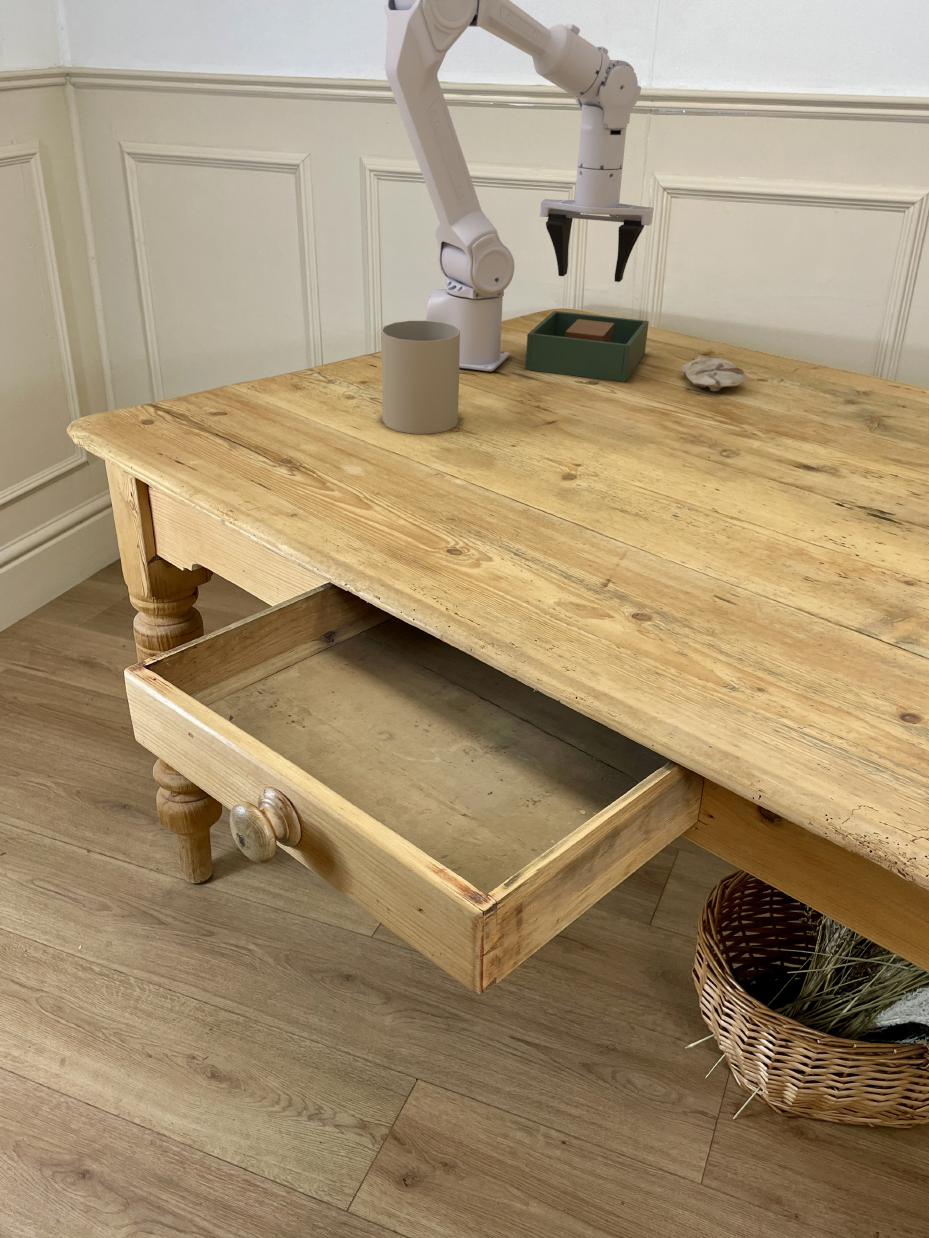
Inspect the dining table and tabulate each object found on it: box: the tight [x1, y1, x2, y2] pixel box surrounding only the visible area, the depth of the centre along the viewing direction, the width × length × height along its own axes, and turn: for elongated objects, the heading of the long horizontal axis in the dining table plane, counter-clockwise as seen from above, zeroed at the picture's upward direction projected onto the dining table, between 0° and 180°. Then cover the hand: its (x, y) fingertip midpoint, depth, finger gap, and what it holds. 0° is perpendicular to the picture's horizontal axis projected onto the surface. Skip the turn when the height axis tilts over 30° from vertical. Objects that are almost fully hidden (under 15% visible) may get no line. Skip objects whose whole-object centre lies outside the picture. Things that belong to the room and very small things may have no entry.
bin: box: [524, 310, 649, 383], centre depth 131 cm, size 13×13×5 cm
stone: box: [681, 354, 747, 392], centre depth 125 cm, size 10×7×3 cm
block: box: [565, 319, 614, 342], centre depth 131 cm, size 5×7×4 cm
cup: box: [380, 320, 460, 435], centre depth 108 cm, size 8×8×10 cm
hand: (590, 277), depth 133 cm, fingers open, 7 cm apart
